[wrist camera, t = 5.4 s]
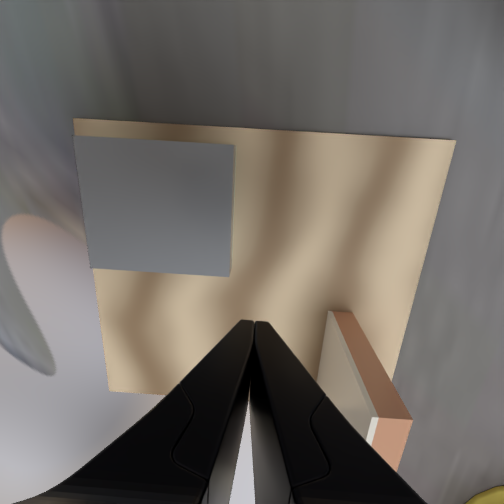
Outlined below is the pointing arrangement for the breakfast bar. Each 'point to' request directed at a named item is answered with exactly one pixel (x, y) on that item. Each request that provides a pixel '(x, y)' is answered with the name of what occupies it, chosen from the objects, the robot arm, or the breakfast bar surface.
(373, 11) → the breakfast bar surface
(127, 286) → the oak board
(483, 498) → the candle
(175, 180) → the slate tile
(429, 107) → the breakfast bar surface
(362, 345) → the terracotta tile
